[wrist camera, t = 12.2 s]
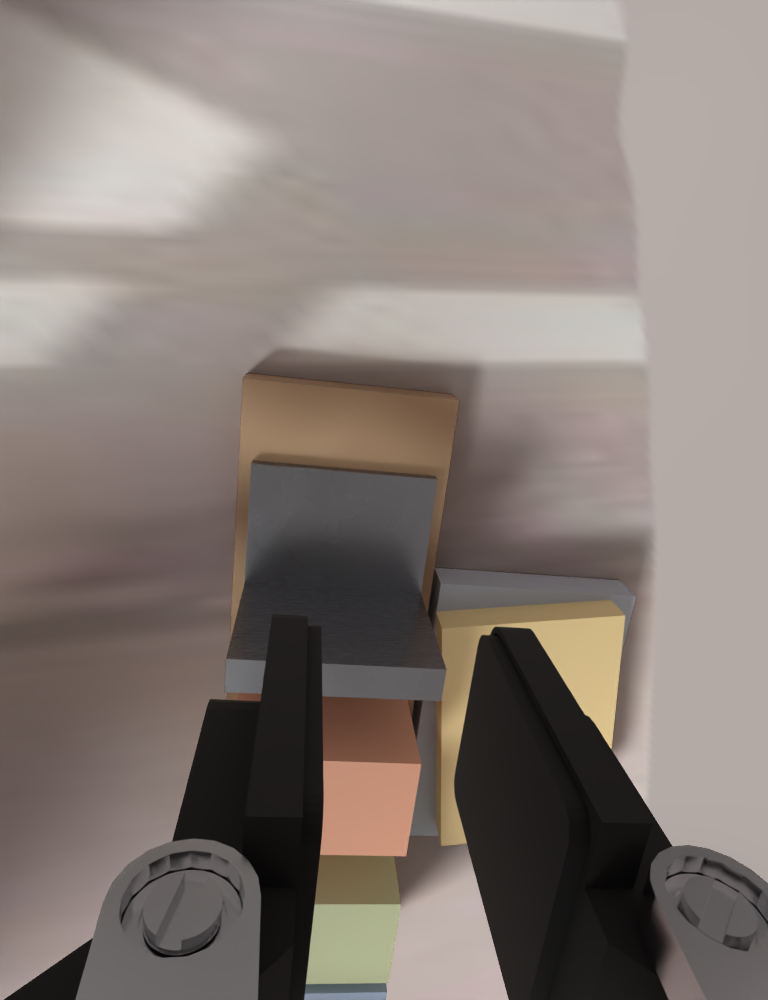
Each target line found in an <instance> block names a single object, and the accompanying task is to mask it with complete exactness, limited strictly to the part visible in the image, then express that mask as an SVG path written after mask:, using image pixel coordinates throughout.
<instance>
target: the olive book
mask: <svg viewBox="0 0 768 1000" xmlns="http://www.w3.org/2000/svg"><path fill="white" fill-rule="evenodd" d="M400 908H401V900H400V893H399V886H398V878H397V871H396V864H395V856H360V855H320V860H319V869H318V878H317V887H316V896H315V905H314V915H313V924H312V933H311V942H310V951H309V960H308V970H307V979H306V984H355V983H388V982H389V976H390V970H391V964H392V957H393V951H394V945H395V939H396V933H397V926H398V920H399V914H400Z"/></svg>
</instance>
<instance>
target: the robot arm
mask: <svg viewBox="0 0 768 1000" xmlns="http://www.w3.org/2000/svg"><path fill="white" fill-rule="evenodd" d="M454 793H455V800H456V804H457V808H458V812H459V815H460V819H461V823H462V827H463V830H464V834H465V838H466V842H467V845H468V849H469V853H470V856H471V860H472V864H473V868H474V871H475V875H476V879H477V883H478V886H479V890H480V894H481V898H482V901H483V905H484V909H485V913H486V916H487V920H488V924H489V927H490V931H491V935H492V939H493V942H494V946H495V950H496V954H497V957H498V961H499V965H500V969H501V972H502V976H503V980H504V983H505V987H506V991H507V995H508V998H509V1000H768V883H767V882H766V881H765V880H763V879H762V878H761V877H760V876H758V875H757V874H756V873H755V872H754V871H752V870H751V869H749V868H748V867H746V866H744V865H743V864H741V863H739V862H738V861H736V860H734V859H732V858H731V857H728V856H726V855H723V854H721V853H718V852H716V851H713V850H710V849H707V848H702V847H696V846H690V845H685V846H672V845H671V844H670V842H669V840H668V839H667V837H666V835H665V834H664V832H663V831H662V829H661V828H660V826H659V824H658V823H657V821H656V820H655V818H654V817H653V815H652V813H651V812H650V810H649V808H648V807H647V805H646V804H645V802H644V801H643V799H642V797H641V796H640V794H639V793H638V791H637V789H636V788H635V786H634V785H633V783H632V782H631V780H630V778H629V777H628V775H627V774H626V772H625V770H624V769H623V767H622V766H621V764H620V763H619V761H618V759H617V758H616V756H615V755H614V753H613V751H612V750H611V748H610V747H609V745H608V744H607V742H606V740H605V739H604V737H603V736H602V734H601V732H600V731H599V729H598V728H597V726H596V724H595V723H594V722H593V721H592V719H591V718H590V717H589V716H587V715H585V714H584V712H583V711H582V709H581V708H580V706H579V704H578V703H577V701H576V700H575V698H574V696H573V695H572V693H571V691H570V690H569V688H568V687H567V685H566V683H565V682H564V680H563V679H562V677H561V675H560V674H559V672H558V671H557V669H556V667H555V666H554V664H553V662H552V661H551V659H550V658H549V656H548V654H547V653H546V651H545V650H544V648H543V646H542V645H541V643H540V642H539V640H538V638H537V637H536V635H535V633H534V632H533V631H532V630H531V629H529V628H513V627H496V626H495V627H494V628H493V629H492V632H491V634H490V635H482V636H481V637H480V639H479V643H478V647H477V653H476V658H475V664H474V670H473V675H472V681H471V686H470V692H469V697H468V703H467V709H466V714H465V720H464V725H463V731H462V736H461V742H460V748H459V753H458V759H457V764H456V770H455V776H454ZM323 807H324V779H323V704H322V628H321V626H311V625H308V616H302V615H284V614H272V619H271V627H270V634H269V641H268V649H267V656H266V664H265V671H264V678H263V686H262V693H261V701H242V700H217V699H211V700H210V701H209V703H208V706H207V710H206V713H205V717H204V721H203V725H202V729H201V733H200V737H199V740H198V744H197V748H196V752H195V756H194V760H193V764H192V767H191V771H190V775H189V779H188V783H187V787H186V791H185V794H184V798H183V802H182V806H181V810H180V814H179V818H178V822H177V825H176V829H175V833H174V837H173V841H172V842H169V843H166V844H164V845H161V846H159V847H156V848H154V849H151V850H149V851H147V852H145V853H144V854H143V855H141V856H140V857H138V858H137V859H135V860H134V861H132V862H131V863H130V864H128V865H127V866H126V868H125V869H124V870H123V871H122V872H121V873H120V874H119V876H118V877H117V878H116V879H115V880H114V881H113V882H112V885H111V887H110V889H109V891H108V893H107V895H106V897H105V900H104V902H103V904H102V908H101V911H100V915H99V918H98V922H97V925H96V929H95V933H94V936H93V938H92V939H91V940H89V941H88V942H86V943H85V944H83V945H82V946H81V947H79V948H78V949H76V950H75V951H73V952H72V953H70V954H69V955H68V956H66V957H65V958H63V959H62V960H60V961H59V962H57V963H56V964H55V965H53V966H52V967H50V968H49V969H47V970H46V971H45V972H43V973H42V974H40V975H39V976H37V977H36V978H34V979H33V980H32V981H30V982H29V983H27V984H26V985H24V986H23V987H21V988H20V989H19V990H17V991H16V992H14V993H13V994H11V995H10V996H8V997H7V998H6V999H4V1000H304V997H305V988H306V979H307V970H308V960H309V951H310V942H311V933H312V924H313V915H314V905H315V896H316V887H317V878H318V869H319V860H320V850H321V841H322V828H323Z"/></svg>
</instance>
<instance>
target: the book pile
mask: <svg viewBox="0 0 768 1000" xmlns="http://www.w3.org/2000/svg"><path fill="white" fill-rule="evenodd" d="M635 600H636V596H635V595H634V594H633V593H632V592H631V591H630V590H629V589H628V588H627V587H626V586H625V585H624V584H623V583H622V582H621V581H620V580H609V579H595V578H580V577H565V576H550V575H536V574H521V573H506V572H491V571H476V570H462V569H447V568H434V573H433V580H432V587H431V593H430V600H429V607H428V616H429V619H430V622H431V625H432V628H433V630H434V633H435V636H436V639H437V642H438V645H439V648H440V651H441V654H442V657H443V660H444V663H445V666H446V669H447V670H446V676H445V682H444V688H443V694H442V700H441V701H426V700H414V706H413V713H412V723H413V727H414V732H415V737H416V741H417V746H418V750H419V755H420V760H421V770H420V776H419V782H418V788H417V794H416V800H415V806H414V812H413V818H412V824H411V830H410V836H439V839H440V844H441V846H449V845H459V844H467V842H466V838H465V834H464V830H463V827H462V823H461V819H460V815H459V812H458V808H457V804H456V800H455V793H454V776H455V770H456V764H457V759H458V753H459V748H460V742H461V736H462V731H463V725H464V720H465V714H466V709H467V703H468V697H469V692H470V686H471V681H472V675H473V670H474V664H475V658H476V653H477V647H478V643H479V639H480V637H481V636H482V635H490V634H491V632H492V629H493V628H494V627H495V626H496V627H513V628H529V629H531V630H532V631H533V632H534V633H535V635H536V637H537V638H538V640H539V642H540V643H541V645H542V646H543V648H544V650H545V651H546V653H547V654H548V656H549V658H550V659H551V661H552V662H553V664H554V666H555V667H556V669H557V671H558V672H559V674H560V675H561V677H562V679H563V680H564V682H565V683H566V685H567V687H568V688H569V690H570V691H571V693H572V695H573V696H574V698H575V700H576V701H577V703H578V704H579V706H580V708H581V709H582V711H583V712H584V714H585V715H587V716H589V717H590V718H591V719H592V721H593V722H594V723H595V724H596V726H597V728H598V729H599V731H600V732H601V734H602V736H603V737H604V739H605V740H606V742H607V744H608V745H609V747H610V748H611V749H612V739H613V729H614V720H615V710H616V701H617V691H618V681H619V672H620V662H621V654H622V650H623V646H624V643H625V639H626V635H627V631H628V627H629V623H630V619H631V615H632V611H633V607H634V603H635Z"/></svg>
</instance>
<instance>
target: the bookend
mask: <svg viewBox="0 0 768 1000" xmlns="http://www.w3.org/2000/svg"><path fill="white" fill-rule="evenodd" d="M437 481H438V479H437V478H436V476H431V475H419V474H408V473H396V472H384V471H373V470H361V469H350V468H338V467H326V466H315V465H303V464H291V463H280V462H268V461H256V460H252V463H251V476H250V494H249V512H248V530H247V548H246V566H245V583H244V587H243V591H242V595H241V599H240V603H239V608H238V612H237V616H236V620H235V624H234V628H233V632H232V636H231V641H230V645H229V649H228V653H227V657H226V671H225V691H224V692H232V693H256V694H261V693H262V686H263V678H264V671H265V664H266V656H267V649H268V641H269V634H270V627H271V619H272V614H284V615H302V616H308V625H311V626H321V628H322V696H329V697H353V698H377V699H401V700H426V701H441V700H442V694H443V688H444V682H445V676H446V670H447V669H446V666H445V663H444V660H443V657H442V654H441V651H440V648H439V645H438V642H437V639H436V636H435V633H434V630H433V628H432V625H431V622H430V619H429V616H428V613H427V610H426V607H425V604H424V601H423V598H422V595H421V590H422V584H423V577H424V570H425V563H426V556H427V549H428V543H429V536H430V529H431V522H432V515H433V508H434V501H435V495H436V488H437Z"/></svg>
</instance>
